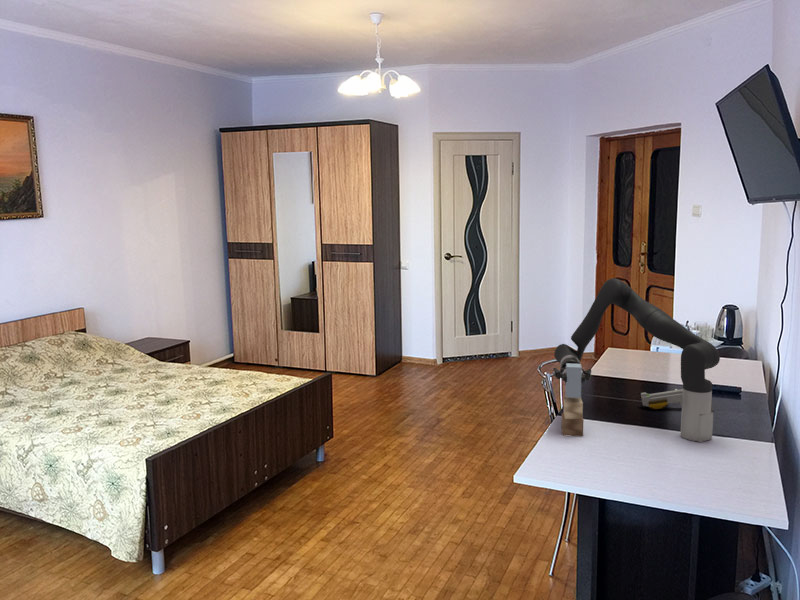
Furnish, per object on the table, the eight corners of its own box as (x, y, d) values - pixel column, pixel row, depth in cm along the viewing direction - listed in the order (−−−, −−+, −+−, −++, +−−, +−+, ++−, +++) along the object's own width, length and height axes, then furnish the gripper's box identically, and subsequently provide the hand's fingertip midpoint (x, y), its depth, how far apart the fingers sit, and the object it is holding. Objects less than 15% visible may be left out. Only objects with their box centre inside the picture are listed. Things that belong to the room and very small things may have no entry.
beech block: (580, 414, 238) (581, 398, 237) (582, 419, 232) (582, 403, 231) (563, 413, 239) (563, 397, 238) (564, 418, 233) (565, 402, 232)
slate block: (579, 393, 236) (580, 363, 234) (580, 397, 231) (581, 367, 229) (565, 392, 237) (566, 363, 235) (566, 397, 232) (567, 367, 230)
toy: (714, 412, 253) (710, 385, 252) (647, 421, 258) (642, 395, 257) (710, 407, 259) (706, 381, 257) (644, 416, 264) (639, 391, 263)
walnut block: (581, 429, 239) (581, 413, 238) (583, 436, 232) (583, 420, 231) (561, 428, 240) (561, 412, 239) (562, 435, 233) (563, 419, 232)
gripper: (551, 356, 248) (553, 368, 231) (590, 357, 245) (595, 370, 228) (550, 375, 249) (553, 389, 232) (590, 377, 246) (595, 390, 230)
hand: (574, 379), depth 231 cm, fingers closed on slate block, 5 cm apart
